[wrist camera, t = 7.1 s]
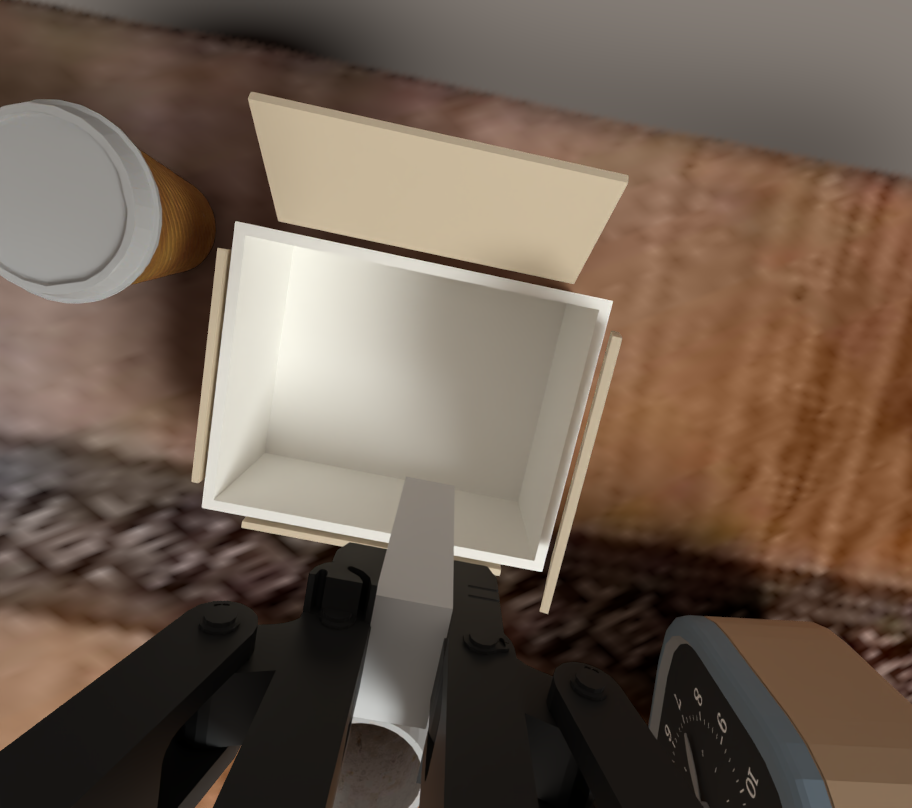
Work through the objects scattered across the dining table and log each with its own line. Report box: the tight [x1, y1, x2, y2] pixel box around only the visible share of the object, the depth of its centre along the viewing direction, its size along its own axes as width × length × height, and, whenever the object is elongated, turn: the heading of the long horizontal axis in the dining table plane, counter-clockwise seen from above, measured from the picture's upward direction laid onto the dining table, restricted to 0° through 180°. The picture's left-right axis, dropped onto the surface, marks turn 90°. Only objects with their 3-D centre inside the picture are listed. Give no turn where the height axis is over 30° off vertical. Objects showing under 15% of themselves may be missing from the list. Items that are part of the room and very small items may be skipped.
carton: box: [191, 221, 613, 576], centre depth 36 cm, size 21×17×10 cm
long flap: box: [248, 92, 628, 284], centre depth 26 cm, size 15×7×1 cm
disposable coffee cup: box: [0, 99, 216, 303], centre depth 32 cm, size 10×10×12 cm
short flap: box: [540, 331, 622, 614], centre depth 28 cm, size 6×13×1 cm
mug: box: [333, 717, 429, 808], centre depth 41 cm, size 12×9×10 cm
